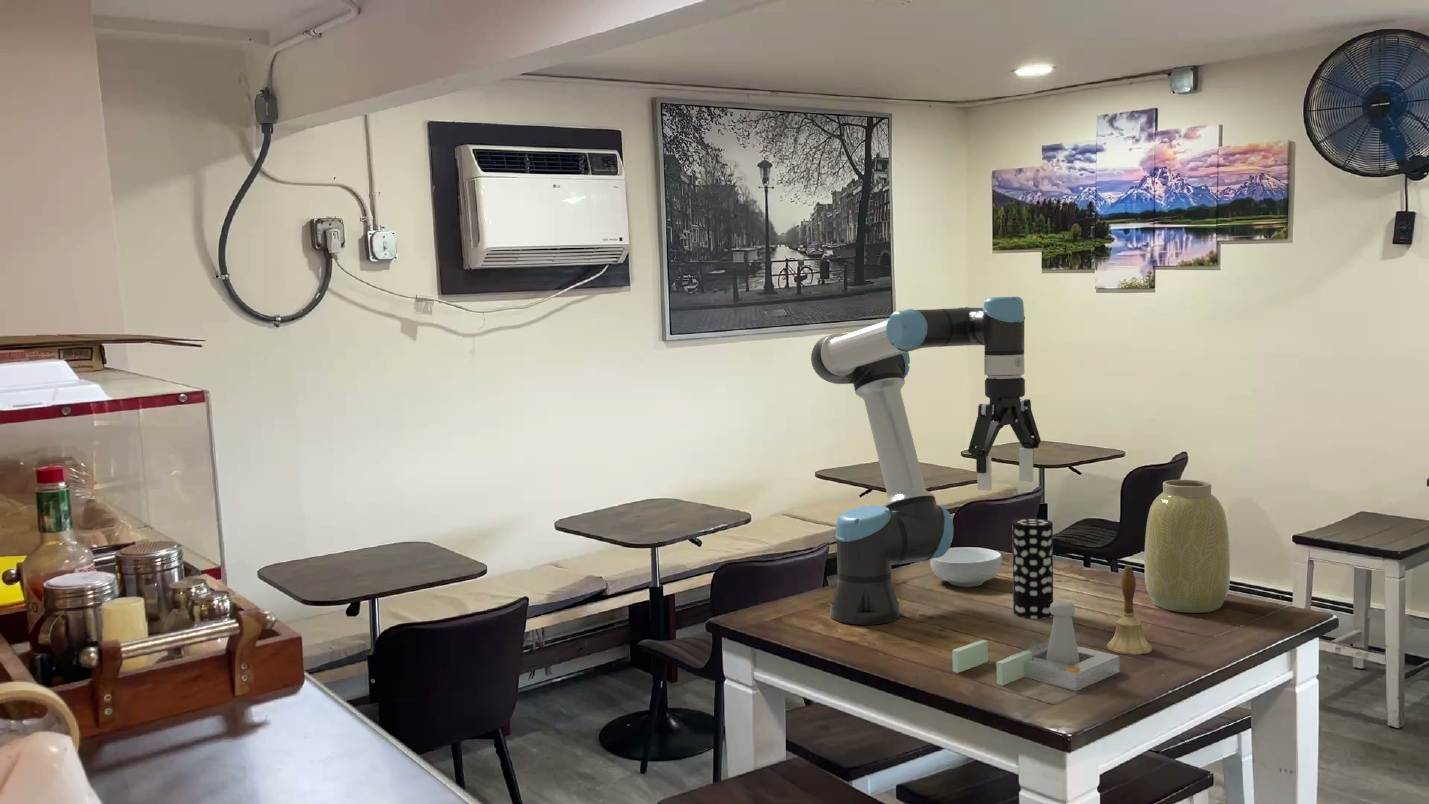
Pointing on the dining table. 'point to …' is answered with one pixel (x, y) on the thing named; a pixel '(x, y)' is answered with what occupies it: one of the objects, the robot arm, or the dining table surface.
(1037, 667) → the socket
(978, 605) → the dining table surface
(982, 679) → the dining table surface
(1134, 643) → the hand bell
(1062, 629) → the salt shaker
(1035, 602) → the white-spotted black cylinder
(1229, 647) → the dining table surface
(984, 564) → the cereal bowl
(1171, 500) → the vase
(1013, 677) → the pale green rectangular blocks
